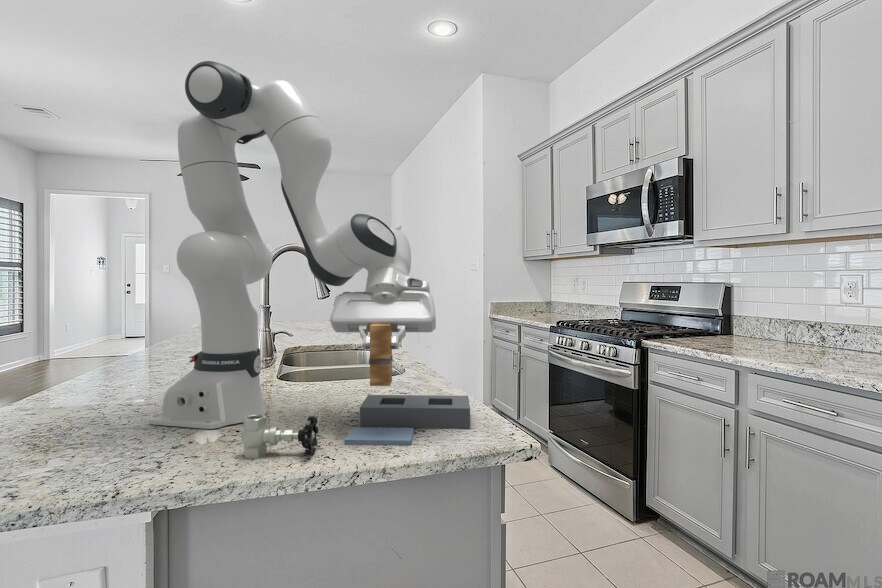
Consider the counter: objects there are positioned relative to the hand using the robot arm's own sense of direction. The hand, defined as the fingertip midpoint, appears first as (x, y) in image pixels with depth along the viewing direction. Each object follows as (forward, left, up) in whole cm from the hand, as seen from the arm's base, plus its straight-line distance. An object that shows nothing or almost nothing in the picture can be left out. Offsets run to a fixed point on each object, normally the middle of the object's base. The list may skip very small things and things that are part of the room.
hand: (380, 347), depth 88 cm
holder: (+6, +12, -17) cm, 21 cm away
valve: (-16, -8, -17) cm, 25 cm away
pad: (0, +1, -17) cm, 17 cm away
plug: (0, +1, -7) cm, 7 cm away
